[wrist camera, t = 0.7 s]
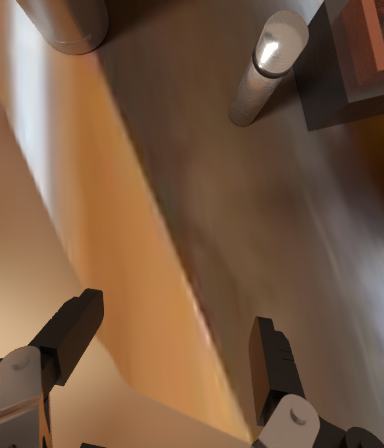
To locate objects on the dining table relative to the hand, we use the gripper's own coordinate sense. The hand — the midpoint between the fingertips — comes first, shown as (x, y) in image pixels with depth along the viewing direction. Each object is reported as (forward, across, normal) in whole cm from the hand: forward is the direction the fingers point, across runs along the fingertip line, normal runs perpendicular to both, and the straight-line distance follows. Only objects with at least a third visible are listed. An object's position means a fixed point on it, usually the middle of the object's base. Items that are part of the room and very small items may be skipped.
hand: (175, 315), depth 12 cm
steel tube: (+27, -3, -10) cm, 30 cm away
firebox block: (+31, -16, -16) cm, 38 cm away
